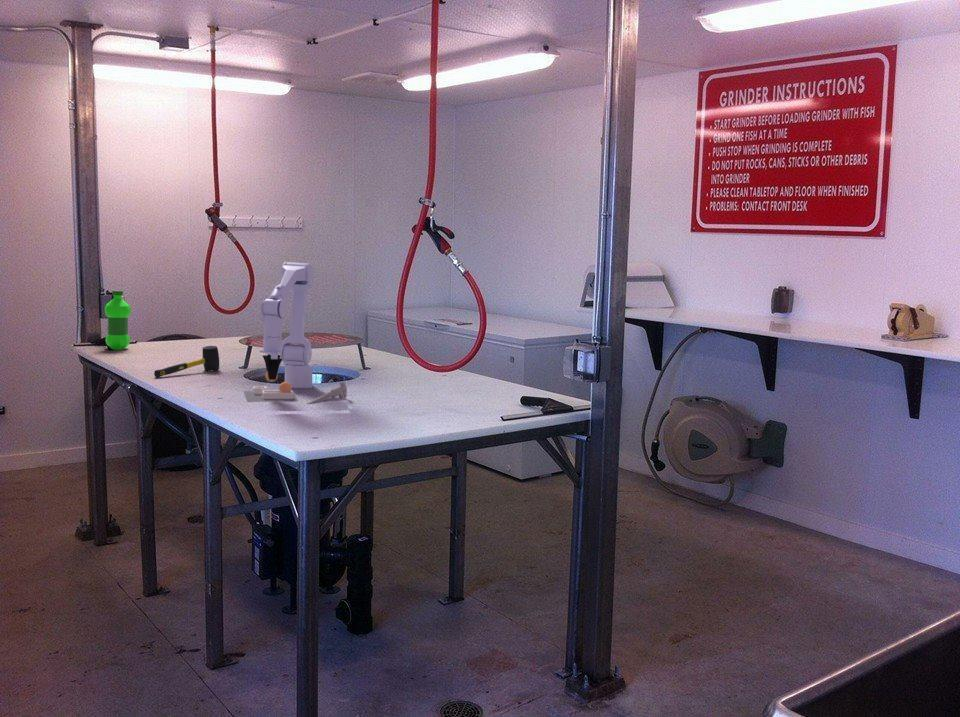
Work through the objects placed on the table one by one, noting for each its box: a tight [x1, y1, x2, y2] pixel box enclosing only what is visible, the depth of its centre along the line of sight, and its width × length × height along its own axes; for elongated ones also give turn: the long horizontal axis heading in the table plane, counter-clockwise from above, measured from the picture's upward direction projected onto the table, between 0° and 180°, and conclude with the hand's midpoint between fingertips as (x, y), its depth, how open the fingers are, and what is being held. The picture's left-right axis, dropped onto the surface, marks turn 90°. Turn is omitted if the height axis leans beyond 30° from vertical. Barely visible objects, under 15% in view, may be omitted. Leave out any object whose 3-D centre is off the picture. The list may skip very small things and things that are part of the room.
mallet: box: [153, 345, 220, 379], centre depth 328 cm, size 29×6×10 cm, turn 150°
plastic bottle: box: [104, 290, 132, 351], centre depth 379 cm, size 10×10×25 cm
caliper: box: [306, 381, 348, 405], centre depth 287 cm, size 20×1×6 cm, turn 151°
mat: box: [243, 390, 299, 403], centre depth 289 cm, size 16×18×1 cm
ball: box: [264, 370, 279, 383], centre depth 285 cm, size 4×4×4 cm
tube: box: [252, 385, 268, 394], centre depth 292 cm, size 4×4×2 cm
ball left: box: [278, 381, 293, 393], centre depth 287 cm, size 4×4×4 cm
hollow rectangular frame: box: [262, 389, 295, 399], centre depth 286 cm, size 10×4×2 cm, turn 108°
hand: (271, 378), depth 285 cm, fingers closed on ball, 4 cm apart
